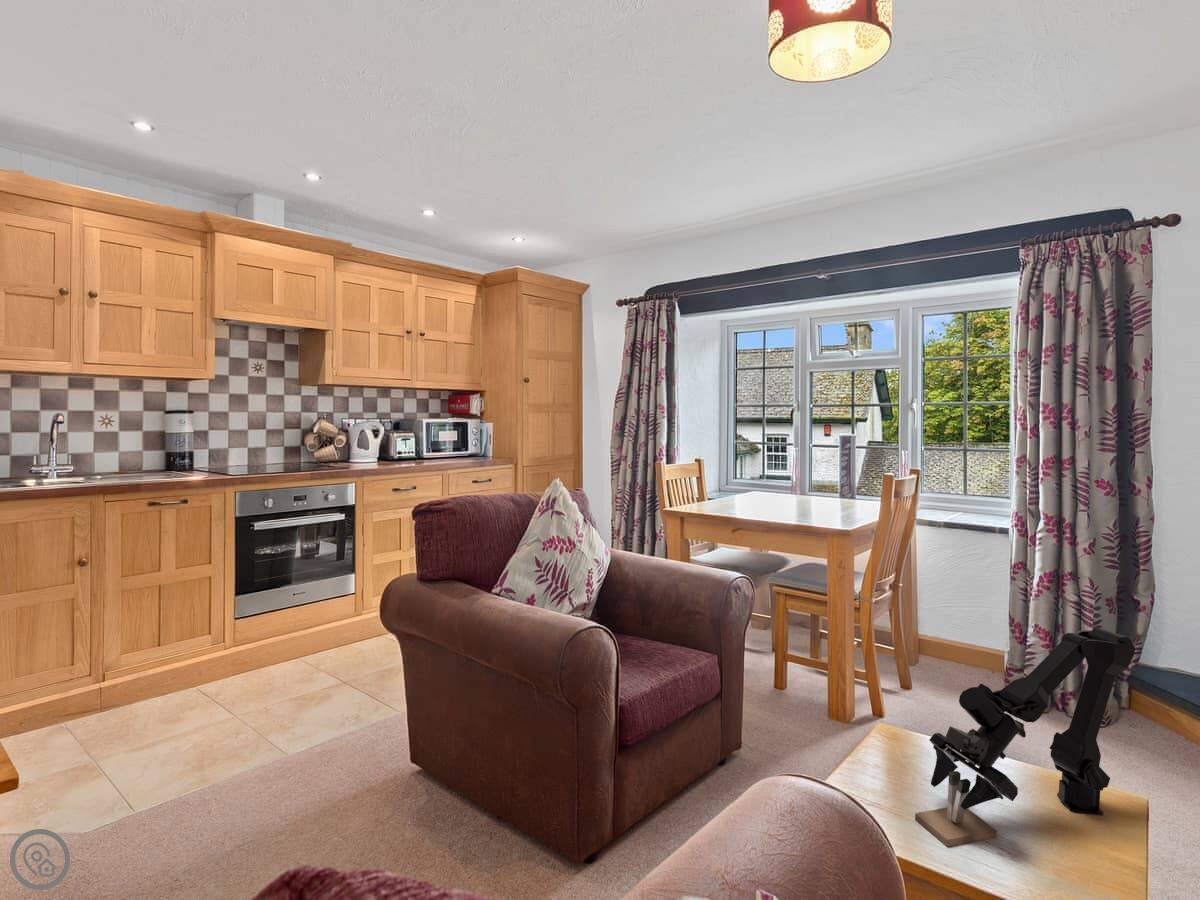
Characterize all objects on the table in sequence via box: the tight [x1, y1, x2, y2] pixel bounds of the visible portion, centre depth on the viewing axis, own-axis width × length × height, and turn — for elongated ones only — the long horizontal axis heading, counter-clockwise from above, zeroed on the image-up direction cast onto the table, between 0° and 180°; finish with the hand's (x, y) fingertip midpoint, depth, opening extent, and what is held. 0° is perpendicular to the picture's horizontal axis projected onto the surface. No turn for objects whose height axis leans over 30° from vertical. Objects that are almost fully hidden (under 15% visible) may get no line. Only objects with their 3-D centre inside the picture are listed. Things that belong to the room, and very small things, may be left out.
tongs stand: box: [914, 770, 998, 848], centre depth 138 cm, size 12×9×12 cm
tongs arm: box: [952, 778, 972, 823], centre depth 136 cm, size 2×1×10 cm, turn 105°
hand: (946, 796), depth 138 cm, fingers open, 8 cm apart
